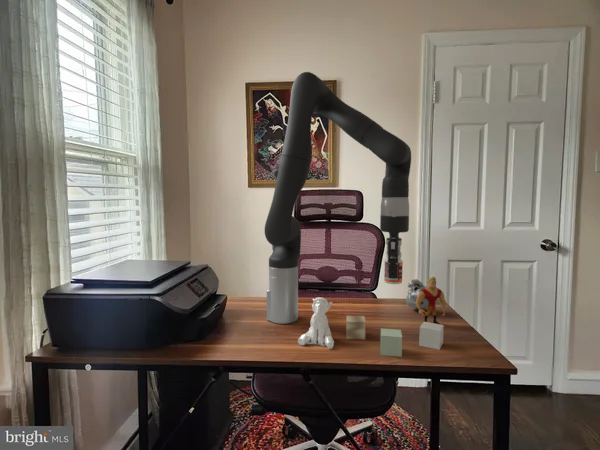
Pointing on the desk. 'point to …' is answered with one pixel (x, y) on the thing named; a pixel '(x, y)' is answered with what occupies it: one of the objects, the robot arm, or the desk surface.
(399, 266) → the pill bottle
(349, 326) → the birch block
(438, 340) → the grey block
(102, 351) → the desk surface
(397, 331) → the sage block
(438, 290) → the action figure
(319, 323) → the white creature statuette
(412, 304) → the heart
